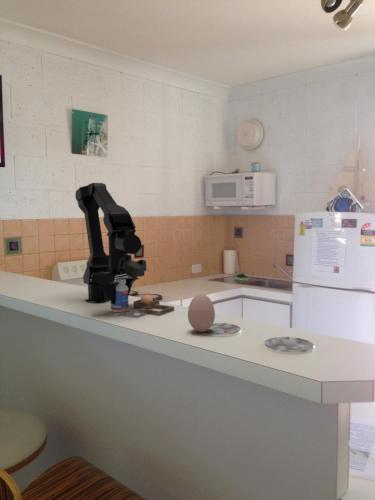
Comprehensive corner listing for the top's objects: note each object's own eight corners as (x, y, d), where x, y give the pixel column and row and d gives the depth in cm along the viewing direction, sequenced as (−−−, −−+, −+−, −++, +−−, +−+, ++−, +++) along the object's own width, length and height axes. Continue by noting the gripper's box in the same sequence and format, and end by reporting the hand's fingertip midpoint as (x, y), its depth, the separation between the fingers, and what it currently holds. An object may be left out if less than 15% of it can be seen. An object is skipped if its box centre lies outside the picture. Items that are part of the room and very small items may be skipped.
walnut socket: (138, 312, 138) (138, 308, 138) (153, 307, 145) (153, 304, 145) (159, 315, 134) (159, 311, 134) (174, 310, 141) (174, 306, 141)
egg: (215, 335, 113) (215, 296, 112) (187, 335, 113) (187, 296, 113) (214, 328, 120) (214, 291, 119) (188, 328, 120) (187, 291, 119)
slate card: (118, 315, 136) (118, 313, 136) (128, 311, 140) (128, 310, 140) (137, 317, 132) (137, 316, 132) (147, 314, 137) (147, 312, 137)
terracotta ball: (137, 308, 145) (137, 295, 144) (145, 305, 148) (145, 293, 148) (147, 309, 143) (147, 296, 142) (155, 307, 146) (155, 294, 146)
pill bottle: (125, 312, 139) (124, 280, 138) (108, 312, 140) (107, 280, 139) (131, 308, 144) (130, 277, 143) (114, 308, 145) (113, 277, 144)
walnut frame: (133, 308, 144) (133, 301, 144) (144, 305, 149) (144, 298, 149) (148, 310, 141) (148, 303, 141) (159, 306, 146) (159, 299, 146)
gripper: (118, 255, 128) (120, 311, 130) (157, 250, 144) (158, 299, 146) (89, 254, 134) (90, 307, 136) (129, 248, 150) (130, 296, 151)
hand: (119, 302), depth 142 cm, fingers closed on pill bottle, 5 cm apart
